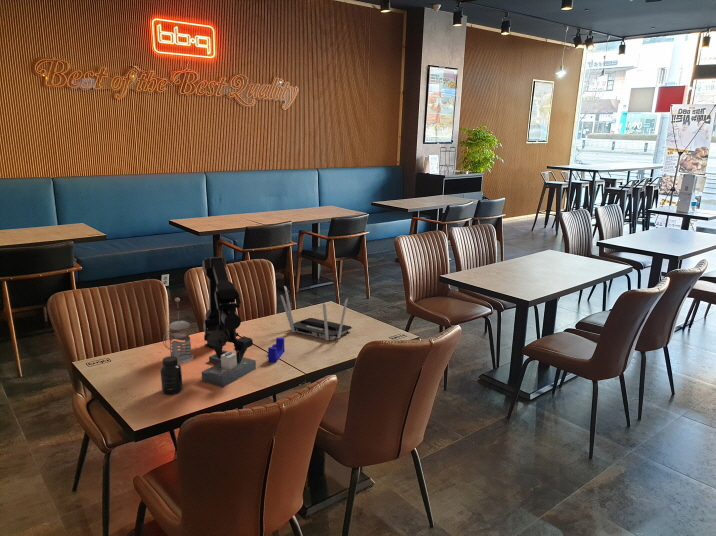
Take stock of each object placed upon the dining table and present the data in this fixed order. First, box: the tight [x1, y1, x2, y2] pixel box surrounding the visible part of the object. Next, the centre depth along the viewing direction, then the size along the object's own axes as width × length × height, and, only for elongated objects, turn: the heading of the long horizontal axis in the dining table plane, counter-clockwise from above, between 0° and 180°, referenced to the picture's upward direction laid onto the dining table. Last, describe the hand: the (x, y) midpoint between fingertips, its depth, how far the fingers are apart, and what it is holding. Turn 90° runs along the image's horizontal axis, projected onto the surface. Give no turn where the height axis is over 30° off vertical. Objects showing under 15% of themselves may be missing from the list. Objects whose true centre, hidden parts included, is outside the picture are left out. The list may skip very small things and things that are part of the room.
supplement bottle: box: [159, 355, 184, 396], centre depth 191 cm, size 7×7×12 cm
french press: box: [162, 297, 195, 364], centre depth 216 cm, size 10×12×25 cm
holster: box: [208, 349, 236, 365], centre depth 218 cm, size 8×8×2 cm
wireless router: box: [279, 285, 353, 341], centre depth 246 cm, size 34×23×20 cm
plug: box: [221, 351, 237, 370], centre depth 204 cm, size 4×4×9 cm
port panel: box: [201, 356, 257, 388], centre depth 205 cm, size 10×18×4 cm, turn 151°
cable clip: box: [267, 337, 286, 364], centre depth 222 cm, size 12×4×6 cm, turn 171°
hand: (229, 361), depth 204 cm, fingers open, 9 cm apart
